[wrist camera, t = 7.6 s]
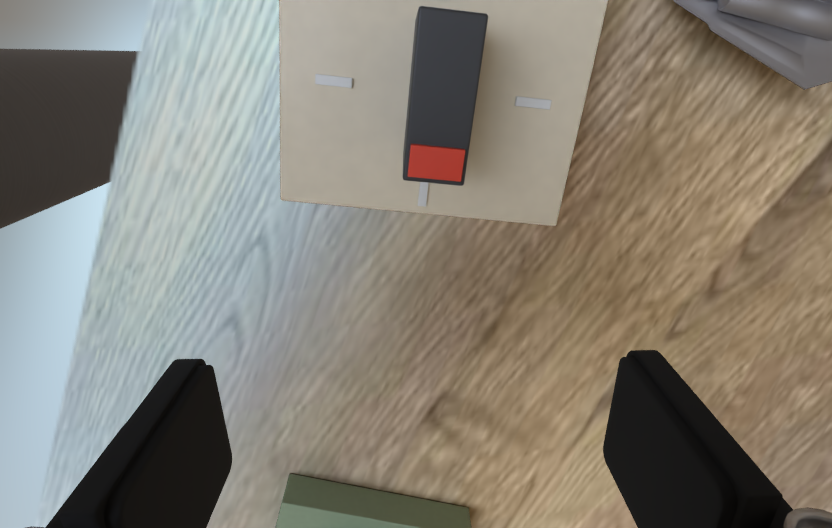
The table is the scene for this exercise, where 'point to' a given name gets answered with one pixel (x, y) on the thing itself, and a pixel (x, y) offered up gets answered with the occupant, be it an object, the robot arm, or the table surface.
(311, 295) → the table surface
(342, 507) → the switch box
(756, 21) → the spaceship
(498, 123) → the panel
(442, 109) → the hob knob
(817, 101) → the table surface
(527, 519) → the table surface
